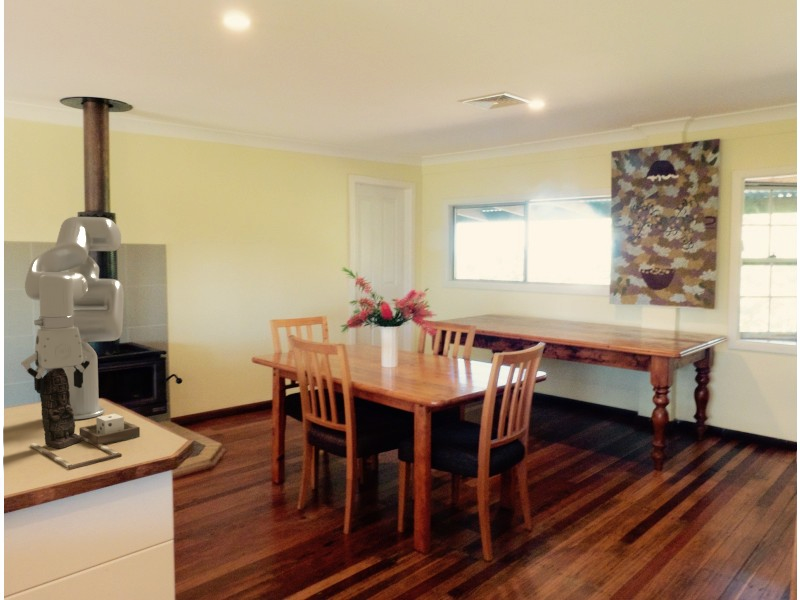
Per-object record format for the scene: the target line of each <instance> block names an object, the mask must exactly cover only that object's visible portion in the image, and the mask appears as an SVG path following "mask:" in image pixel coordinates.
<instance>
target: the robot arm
mask: <svg viewBox="0 0 800 600" xmlns="http://www.w3.org/2000/svg"><path fill="white" fill-rule="evenodd" d="M121 243H122V234H121V230H120V228H119V226H118V225H117V224H116V223H115V222H114V221H113V220H112V219H110V218H107V217H101V216H100V217H99V216H98V217H97V216H71V217H67V218H66V219H64V220H63V221H62V223H61V225H60V228H59V232H58V235H57V239H56V243H55V246H54V247H52V248H50V249H47V250H46V251H44V252H42V253H41V254H40V255H38V256H36V257H35V258H34V259H33V260H32V261H31V263H30V265H29V267H28V271H27V273H26V277H25V282H24V290H25V293H26V295H27V297H29V298H30V299H31V300H33V301H39V315H40V316H39V318H38V319H35V320H33V321H34V322H33V323H34V326H38V327H39V328H38V329H37V332H36V337H35V343H34V344H35V346H34V353H33V354H31V355H29V357H27V358H26V359H24V360H22V361H21V362H20V365H21V367H23V369H24V370H25V372H27V373H28V374H29V375H30V376H31V377H33V380H34V381H33V382H34V383H33V384H34V391H36V393H37V394H39V395H40V394H44V378H43V376H44V375H45V374H44V373H45V372H46V371H50V370H52V369H58V368H63V369H64V371H65V373H66V375H67V378H68V383H69V390H68V391H69V393H70V398H69V399H70V405H71V406H72V407H73V408H72V409H73V412H74V416H73V417H74V421H75V420H85V419H91V418H96V417H100V416H102V414H104V413H105V407H104V406H102V405H100V404H99V400H100V399H99V368H98V364H99V363H98V362H99V361H98V355H97V352H96V351H95V350H94V348H93V347H92V346H91V345H90V344H89V343H91V342H112V341H113V342H114V341H117V340H118V339H120V337H121V336H122V333H123V327H124V326H123V324H124V323H123V322H124V321H123V320H124V305H125V304H124V303H125V293H124V292H125V291H124V286H123V284H122V283H121V282H120V280H118V279H114V278H100V266H99V265H98V264H97V262H96V261H95V260H94V259H93V258H92V257H91V256H90V255H89V252H115V251H117V250H118V249H119V248H120V246H121ZM32 363H34V364H35V366H36V367H35V369H34V368H33V367H32V366H31V364H32Z"/></svg>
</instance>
